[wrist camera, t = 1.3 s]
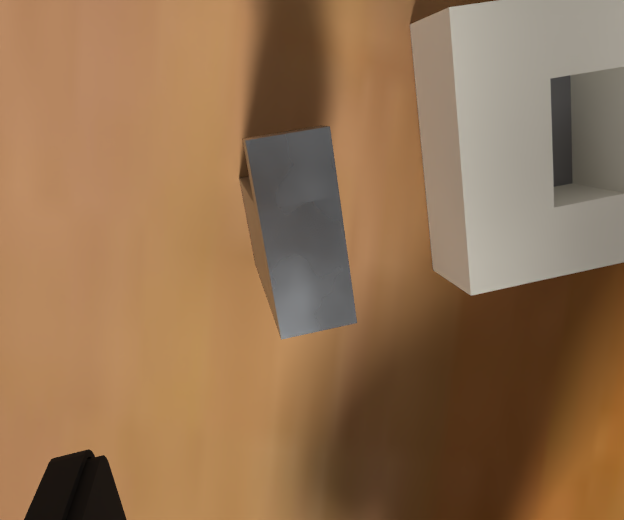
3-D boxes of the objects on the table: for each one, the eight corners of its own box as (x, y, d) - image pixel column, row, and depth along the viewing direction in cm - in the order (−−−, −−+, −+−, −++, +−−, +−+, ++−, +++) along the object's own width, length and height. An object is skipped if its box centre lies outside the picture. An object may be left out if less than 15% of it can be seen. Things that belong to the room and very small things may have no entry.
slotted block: (637, 227, 36) (704, 244, 31) (433, 270, 34) (470, 295, 29) (640, -9, 32) (718, -31, 27) (409, 24, 30) (448, 7, 25)
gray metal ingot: (306, 254, 32) (357, 322, 22) (255, 264, 32) (281, 339, 21) (285, 122, 30) (329, 126, 19) (230, 131, 29) (245, 140, 19)
